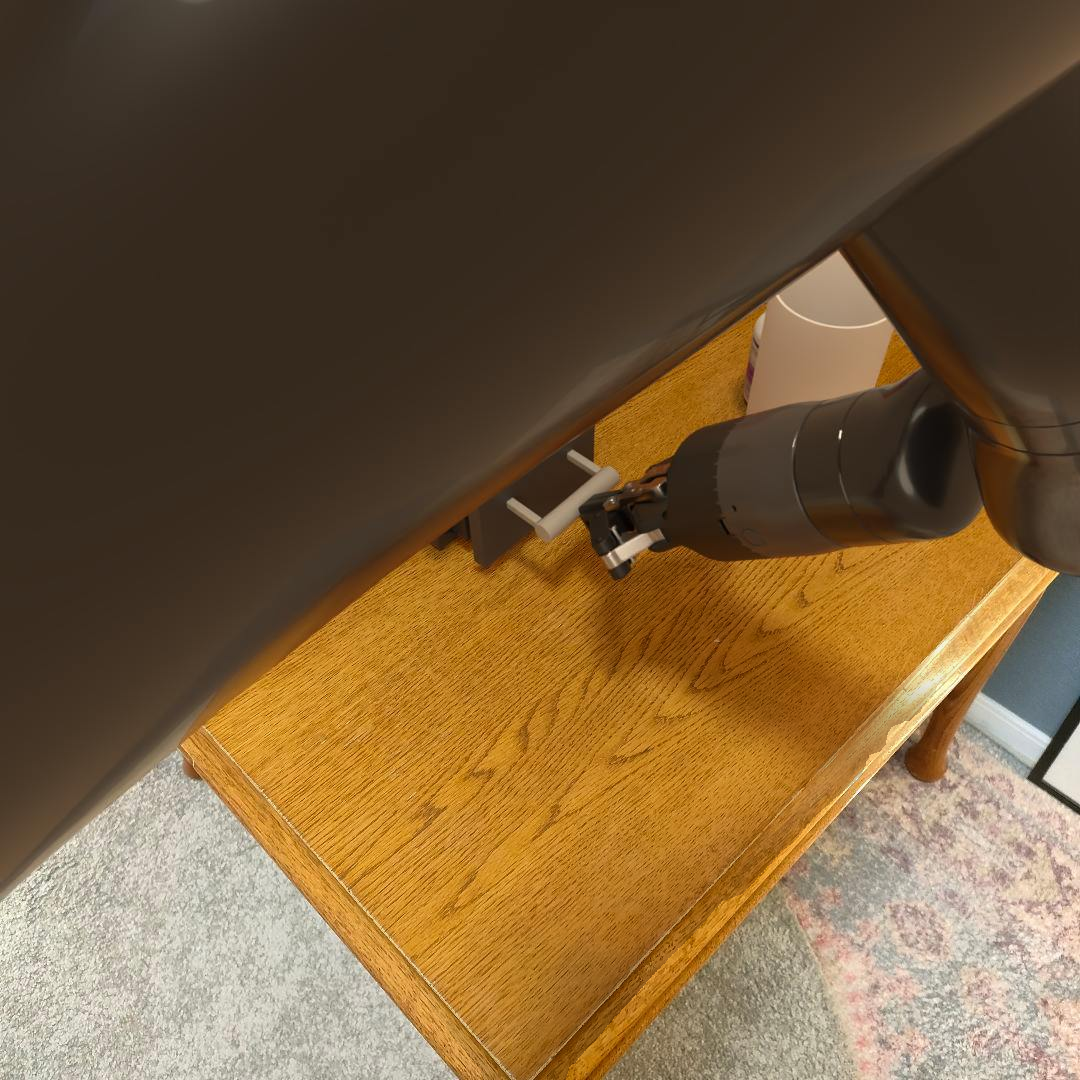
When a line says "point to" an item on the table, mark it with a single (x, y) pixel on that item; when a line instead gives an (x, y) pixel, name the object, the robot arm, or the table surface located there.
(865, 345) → the cup
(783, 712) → the table surface
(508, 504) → the drawer
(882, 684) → the table surface
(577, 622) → the table surface
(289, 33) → the robot arm
